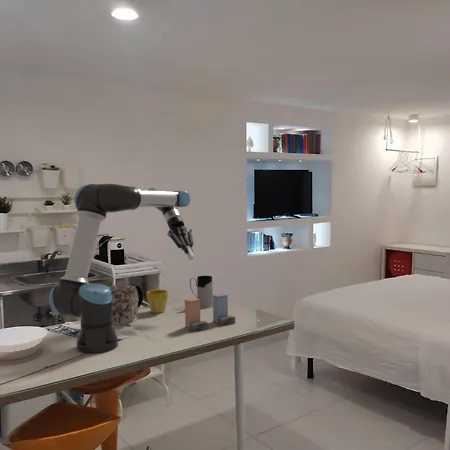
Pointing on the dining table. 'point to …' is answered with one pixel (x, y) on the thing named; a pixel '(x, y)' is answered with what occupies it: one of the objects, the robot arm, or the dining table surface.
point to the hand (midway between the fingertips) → (192, 258)
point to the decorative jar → (124, 304)
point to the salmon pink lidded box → (192, 311)
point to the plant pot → (157, 300)
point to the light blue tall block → (220, 306)
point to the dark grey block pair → (204, 325)
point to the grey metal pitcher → (204, 291)
